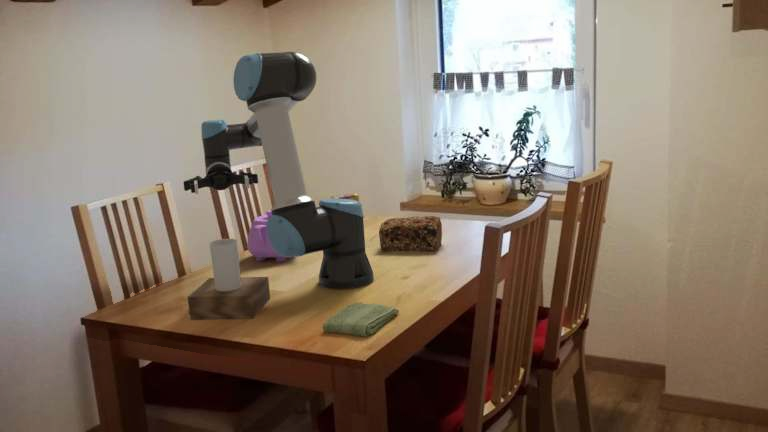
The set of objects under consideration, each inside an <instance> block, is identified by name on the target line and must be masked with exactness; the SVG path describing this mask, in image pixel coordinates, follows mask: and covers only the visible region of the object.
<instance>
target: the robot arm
mask: <svg viewBox="0 0 768 432" xmlns="http://www.w3.org/2000/svg"><path fill="white" fill-rule="evenodd" d="M316 83H317V72H316V68H315V65H314V64H313V63H312V61H311V60H310V59H309V58H308V57H307V56H305V55H303V54H302V53H300V52H297V51H284V52H283V51H282V52H263V53H258V52H256V53H253V54H246V55H244V56H241V57H240V58H239V59H238V61H237V62H236V65H235V68H234V72H233V89H234V92H235V95H236V96H237V98H238V99H239V100H240V101H243V102H245V103H246V105H247V106H246V107H247V109H248V110H249V111H250V112H252V113H253V114H252V115H251V116H250V118H248V120H247V121H246V122H243V123H234V124H233V123H232V124H227V122H226V120H225V119H214V120H212V119H211V120H204V121H203V122H201V128H200V130H201V140H202V147H203V155H204V165H205V166H204V167H205V177H202V176H200V175H196V176H195V177H193V178H189V179H186V180H184V181H183V189H184V191H185V192H188V191H190V192H191V194H195V195H197V194H199V189H202V188H212V189H214V190H216V191H224V190H227V189H228V188H230V186H234V185H236V184H239V185H244V186H245V187H246V189H250V185H253V184H255V185H257V184H259V177H258V174H257V173H252V172H244V171H239V172H238V173H237V174H236V173H235V172H233V171H232V166H231V158H230V157H231V156H230V151H232V150H237V149H245V148H254V147H261V146H262V150H263V154H264V159H265V164H266V167H267V168H266V169H267V172H268V176H269V180H270V181H269V182H270V185H271V189H272V195H273V198H274V204H273V206H272V207H271V209H270V210H271V212H272V216H271V217H270V218H269V219H268V221H267V227H266V228H267V235H268V238H269V241H270V243H271V245H272V247H273V248H274V249H275V251H277V253H278V254H280V255H281V256H283V257H285V259H286V258H287V259H288V258H289V259H290V258H295V257H302V256H305V255H308V254H314V253H317V252H322V253H323V254H322V255H323V256H322V260H321V264H320V268H319V272H318V283H319V285H320V286H321V287H323V288H326V289H333V290H347V289H355V288H360V287H364V286H367V285H369V284H371V283H372V282H373V281H374V279H375V278H374V271H373V267H372V266H371V263H370V260H369V258H368V255H367V253H366V242H365V239H366V238H365V227H364V225H365V224H364V218H365V216H364V212H363V205H362V203H361V202H360V201H359V202H358V201H356V200H350V199H331V198H322V199H320V200H319V203H318V206H316V203H315V199H313V198H312V197H311V196H309V195H308V194H307V193H308V192H307V189H306V185H305V184H306V183H305V180H304V176H303V172H302V167H301V162H300V157H299V154H298V148H297V145H296V140H295V136H294V132H293V126H292V123H291V118H290V115H289V113H290V111H291V110H292V109H293V108H294V107H295V106H296V105H297V104H298V103H299V102H303V101H305V100H307V98H308V97H309V96H310V95H311V94H312V92H313V91H314V89H315V87H316V85H317V84H316Z"/></svg>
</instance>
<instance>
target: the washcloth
mask: <svg viewBox="0 0 768 432" xmlns="http://www.w3.org/2000/svg"><path fill="white" fill-rule="evenodd" d="M399 313H400V310H399V309H398V308H396V307H394V306H388V305H382V304H378V303H363V302H362V301H355V302H352V303H351V304H347V305H346V306H345V307H344V308H342V309H340V310H339V311H338V312H337V313H334V314H333V315H331V316H329V318H327V319H326V320H325V321H324V322H323V323H322V327H321V329H322V331H323V332H326V333H334V334H338V335H342V334H343V335H344V334H345V335H352V336H357V337H365V338H366V337H369V336H371V335H374V333H376V332H377V331H379V329H382V327H383V326H384V325H385V324H386V323H387V322H389V321H390V320H391V319H392V318H393V317H395V316H396V315H397V314H399Z"/></svg>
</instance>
